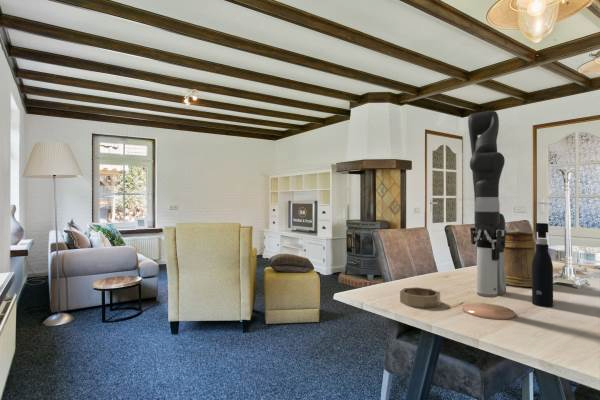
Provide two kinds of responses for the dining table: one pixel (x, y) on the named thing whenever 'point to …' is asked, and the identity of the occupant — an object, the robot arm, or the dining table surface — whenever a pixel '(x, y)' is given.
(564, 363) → the dining table surface
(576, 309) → the dining table surface
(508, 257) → the tankard
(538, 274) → the black water bottle
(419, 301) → the collar ring
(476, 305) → the coaster
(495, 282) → the travel mug
